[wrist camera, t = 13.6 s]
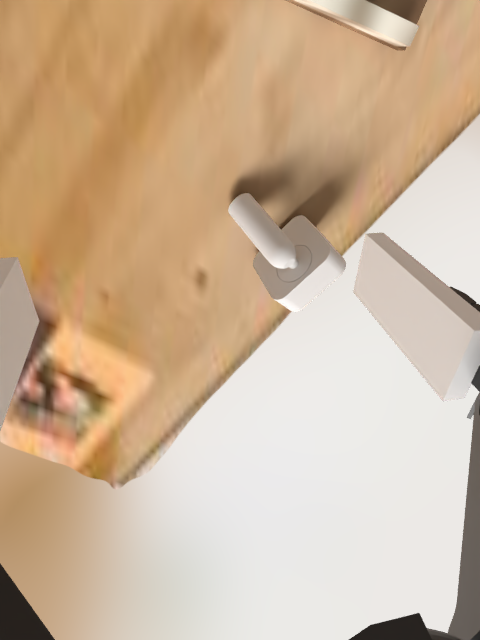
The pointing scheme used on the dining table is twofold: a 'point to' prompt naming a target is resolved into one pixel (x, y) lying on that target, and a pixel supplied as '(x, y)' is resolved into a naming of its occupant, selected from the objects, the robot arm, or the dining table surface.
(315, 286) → the wall hook
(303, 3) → the display stand
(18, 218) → the dining table surface
